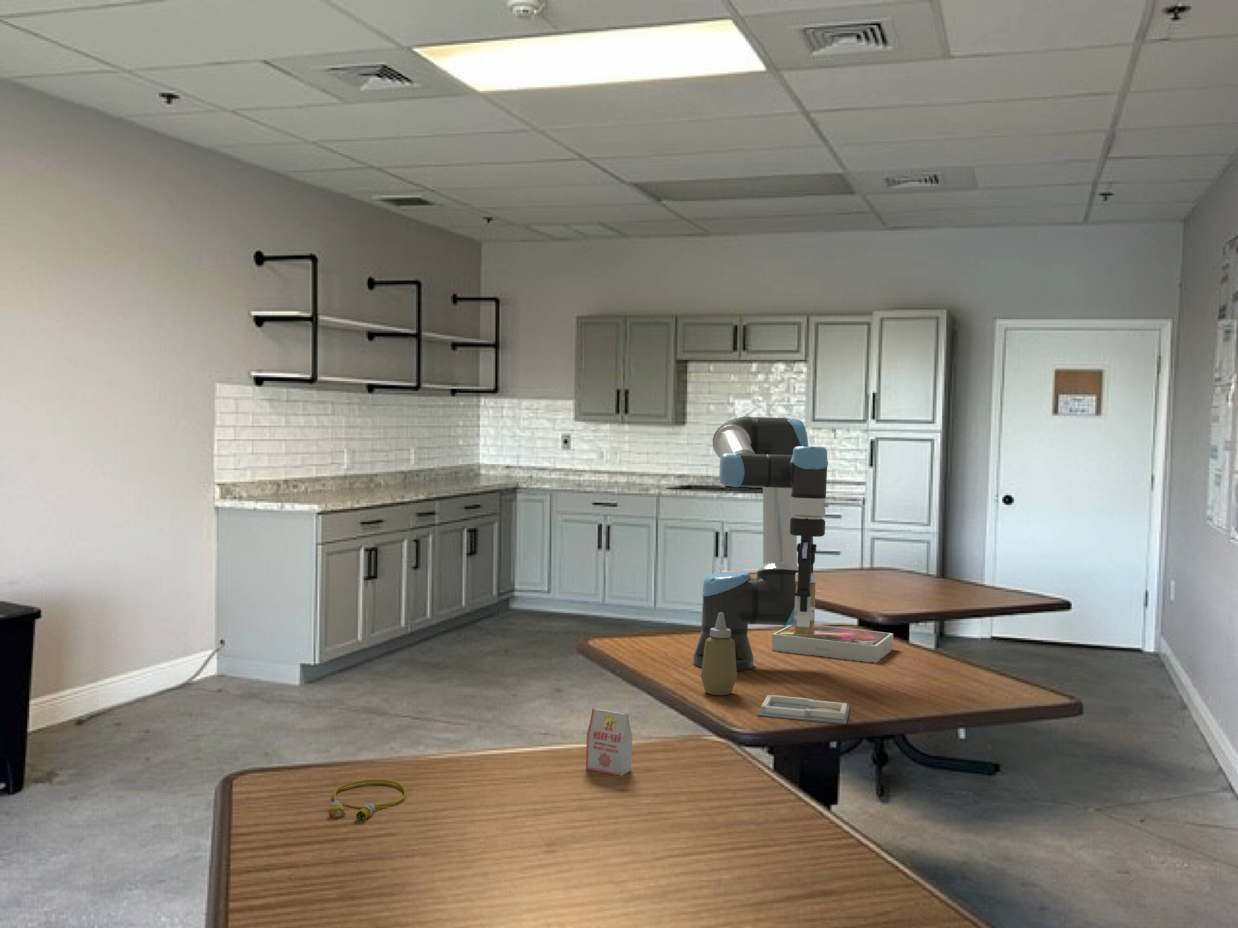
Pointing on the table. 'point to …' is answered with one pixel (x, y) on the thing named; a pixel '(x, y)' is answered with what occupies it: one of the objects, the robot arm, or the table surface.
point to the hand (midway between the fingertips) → (803, 624)
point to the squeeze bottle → (719, 660)
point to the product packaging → (835, 643)
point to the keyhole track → (804, 709)
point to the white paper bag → (609, 743)
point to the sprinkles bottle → (810, 630)
